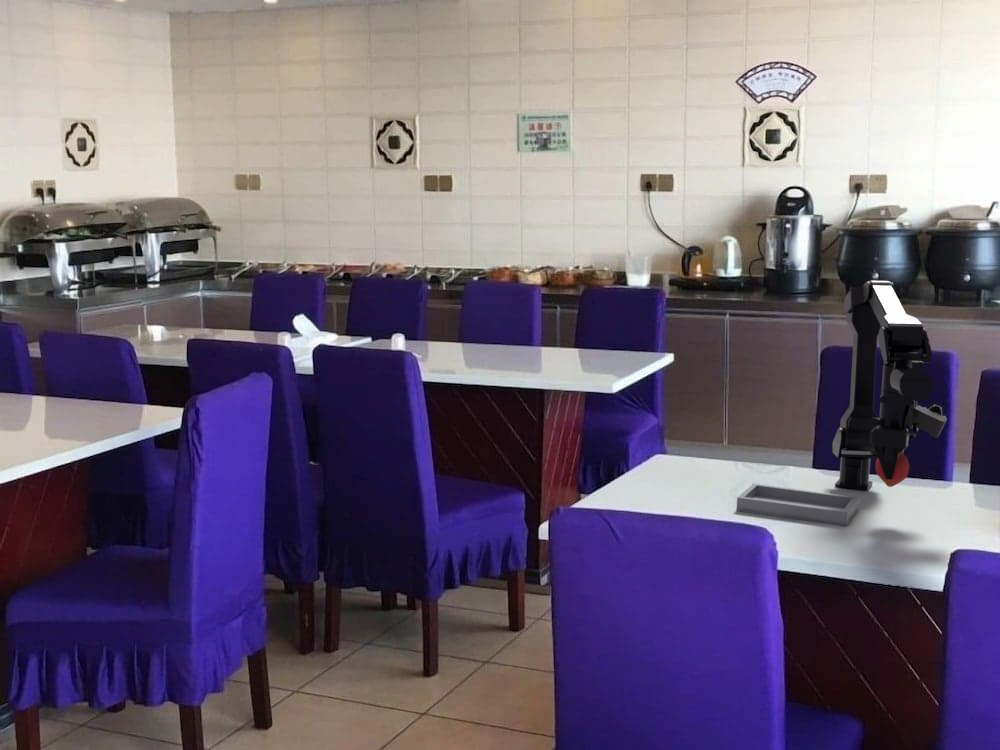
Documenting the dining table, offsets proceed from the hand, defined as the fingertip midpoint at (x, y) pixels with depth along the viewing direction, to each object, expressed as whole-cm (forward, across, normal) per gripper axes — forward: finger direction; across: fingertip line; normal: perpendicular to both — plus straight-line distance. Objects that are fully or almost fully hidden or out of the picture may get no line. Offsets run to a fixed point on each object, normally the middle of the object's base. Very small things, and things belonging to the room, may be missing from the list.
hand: (891, 475), depth 219 cm
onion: (+2, 0, 0) cm, 2 cm away
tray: (+8, -2, +16) cm, 18 cm away
